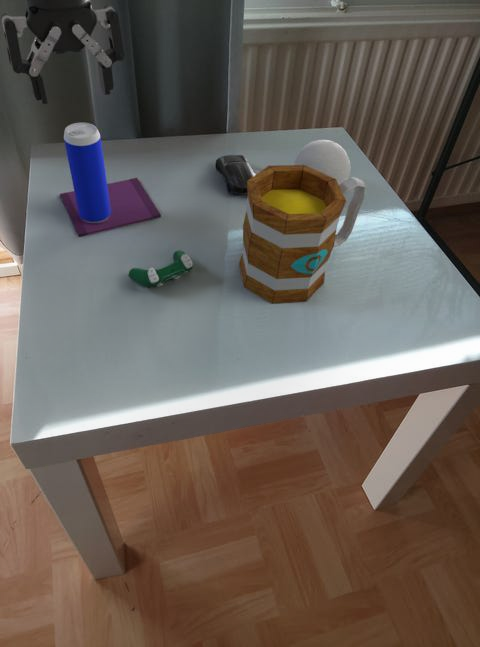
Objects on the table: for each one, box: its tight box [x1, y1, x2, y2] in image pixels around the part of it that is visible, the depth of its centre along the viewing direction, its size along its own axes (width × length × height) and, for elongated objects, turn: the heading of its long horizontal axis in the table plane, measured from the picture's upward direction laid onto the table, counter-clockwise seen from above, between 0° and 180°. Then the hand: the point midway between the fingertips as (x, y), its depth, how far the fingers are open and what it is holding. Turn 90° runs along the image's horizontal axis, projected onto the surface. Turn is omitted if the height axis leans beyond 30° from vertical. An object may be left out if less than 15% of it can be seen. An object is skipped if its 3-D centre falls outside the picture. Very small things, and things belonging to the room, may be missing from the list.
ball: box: [293, 139, 351, 185], centre depth 90 cm, size 10×10×10 cm
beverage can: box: [63, 122, 111, 223], centre depth 78 cm, size 5×5×15 cm
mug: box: [238, 164, 366, 304], centre depth 74 cm, size 20×14×15 cm
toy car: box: [215, 154, 257, 195], centre depth 93 cm, size 6×12×4 cm, turn 19°
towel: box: [59, 177, 162, 237], centre depth 86 cm, size 14×12×1 cm
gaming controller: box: [127, 249, 194, 289], centre depth 75 cm, size 9×4×6 cm
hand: (75, 97), depth 69 cm, fingers open, 8 cm apart
